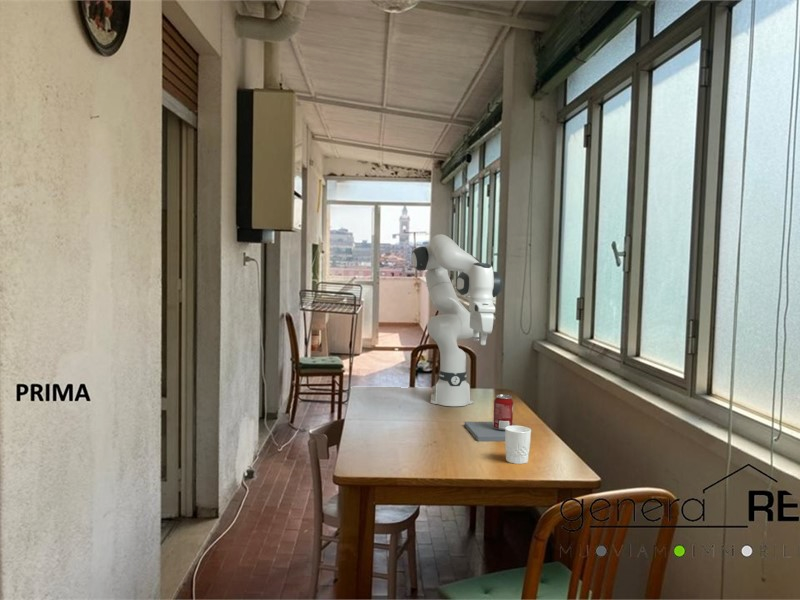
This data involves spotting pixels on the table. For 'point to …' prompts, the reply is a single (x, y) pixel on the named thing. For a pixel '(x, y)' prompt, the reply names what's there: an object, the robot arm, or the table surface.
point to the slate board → (485, 431)
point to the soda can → (503, 412)
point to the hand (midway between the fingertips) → (479, 343)
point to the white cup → (517, 444)
